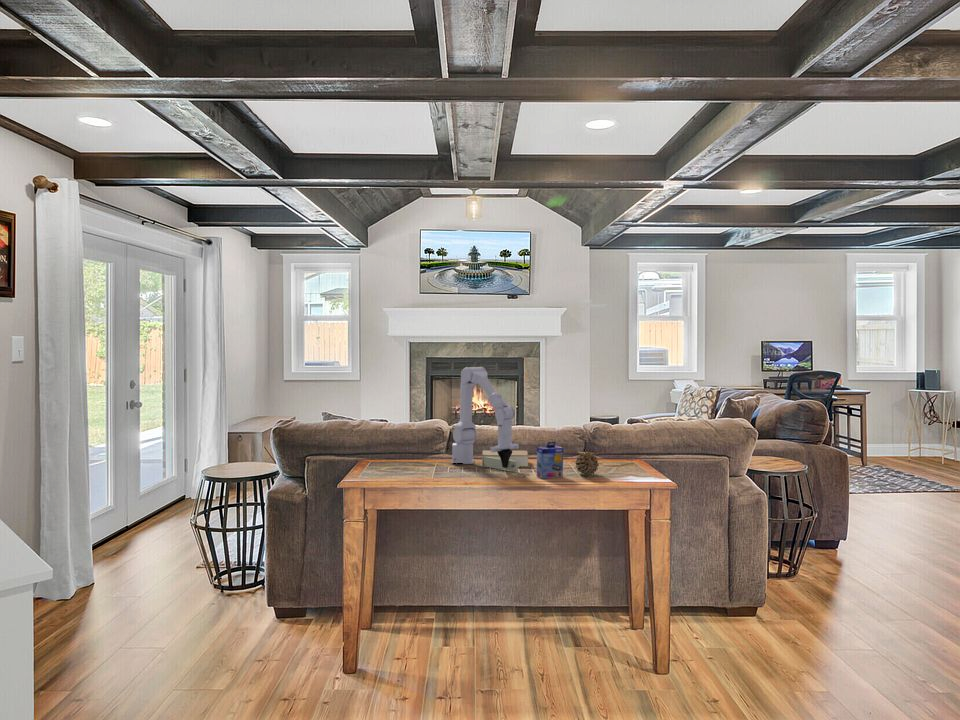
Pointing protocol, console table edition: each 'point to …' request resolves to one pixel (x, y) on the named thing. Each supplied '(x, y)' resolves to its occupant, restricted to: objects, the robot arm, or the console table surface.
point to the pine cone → (586, 463)
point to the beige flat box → (515, 456)
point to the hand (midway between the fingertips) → (504, 467)
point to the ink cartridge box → (549, 461)
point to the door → (500, 464)
